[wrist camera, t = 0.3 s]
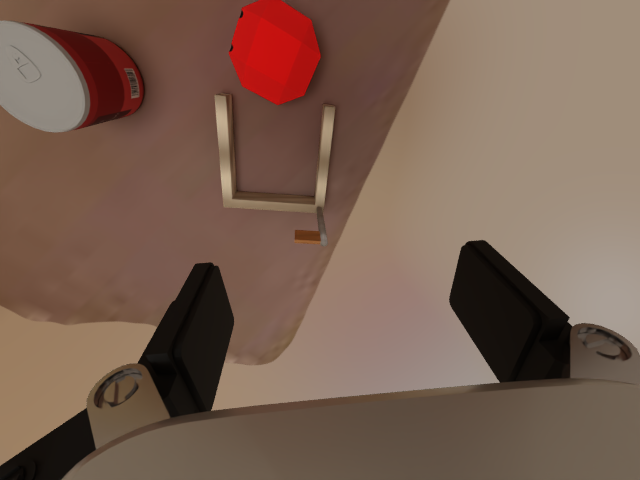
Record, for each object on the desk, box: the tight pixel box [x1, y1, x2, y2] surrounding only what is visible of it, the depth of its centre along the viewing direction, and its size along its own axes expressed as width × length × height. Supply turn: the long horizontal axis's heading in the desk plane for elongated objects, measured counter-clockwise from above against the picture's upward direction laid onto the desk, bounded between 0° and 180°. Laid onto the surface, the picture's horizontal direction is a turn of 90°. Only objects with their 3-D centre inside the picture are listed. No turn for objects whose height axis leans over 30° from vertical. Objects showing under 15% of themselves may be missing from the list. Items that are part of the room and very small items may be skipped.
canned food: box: [0, 21, 144, 132], centre depth 27 cm, size 8×8×11 cm
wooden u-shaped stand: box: [215, 93, 335, 246], centre depth 32 cm, size 13×13×12 cm
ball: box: [229, 0, 321, 105], centre depth 29 cm, size 8×8×8 cm
